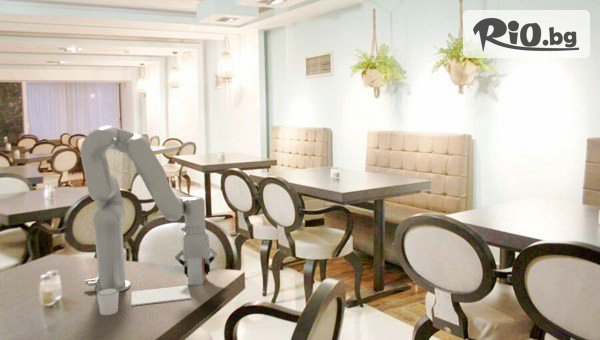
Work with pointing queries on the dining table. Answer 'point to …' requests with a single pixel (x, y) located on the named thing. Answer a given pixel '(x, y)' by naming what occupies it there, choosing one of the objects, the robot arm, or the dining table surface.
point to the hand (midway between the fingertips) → (197, 274)
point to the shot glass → (108, 301)
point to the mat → (160, 295)
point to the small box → (196, 271)
